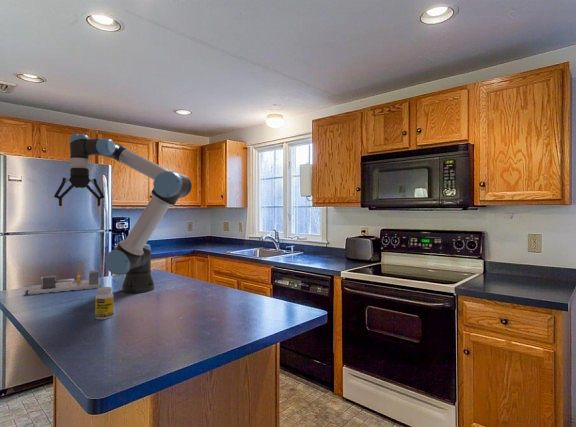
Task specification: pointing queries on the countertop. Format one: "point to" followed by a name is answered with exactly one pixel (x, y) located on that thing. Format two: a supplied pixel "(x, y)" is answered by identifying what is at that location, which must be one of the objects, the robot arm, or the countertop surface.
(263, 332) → the countertop surface
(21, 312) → the countertop surface
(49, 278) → the grey block with rod
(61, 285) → the gauge board
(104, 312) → the pill bottle
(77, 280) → the orange peg piece
